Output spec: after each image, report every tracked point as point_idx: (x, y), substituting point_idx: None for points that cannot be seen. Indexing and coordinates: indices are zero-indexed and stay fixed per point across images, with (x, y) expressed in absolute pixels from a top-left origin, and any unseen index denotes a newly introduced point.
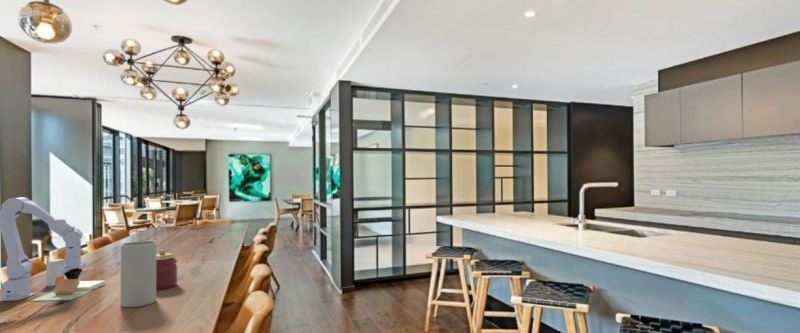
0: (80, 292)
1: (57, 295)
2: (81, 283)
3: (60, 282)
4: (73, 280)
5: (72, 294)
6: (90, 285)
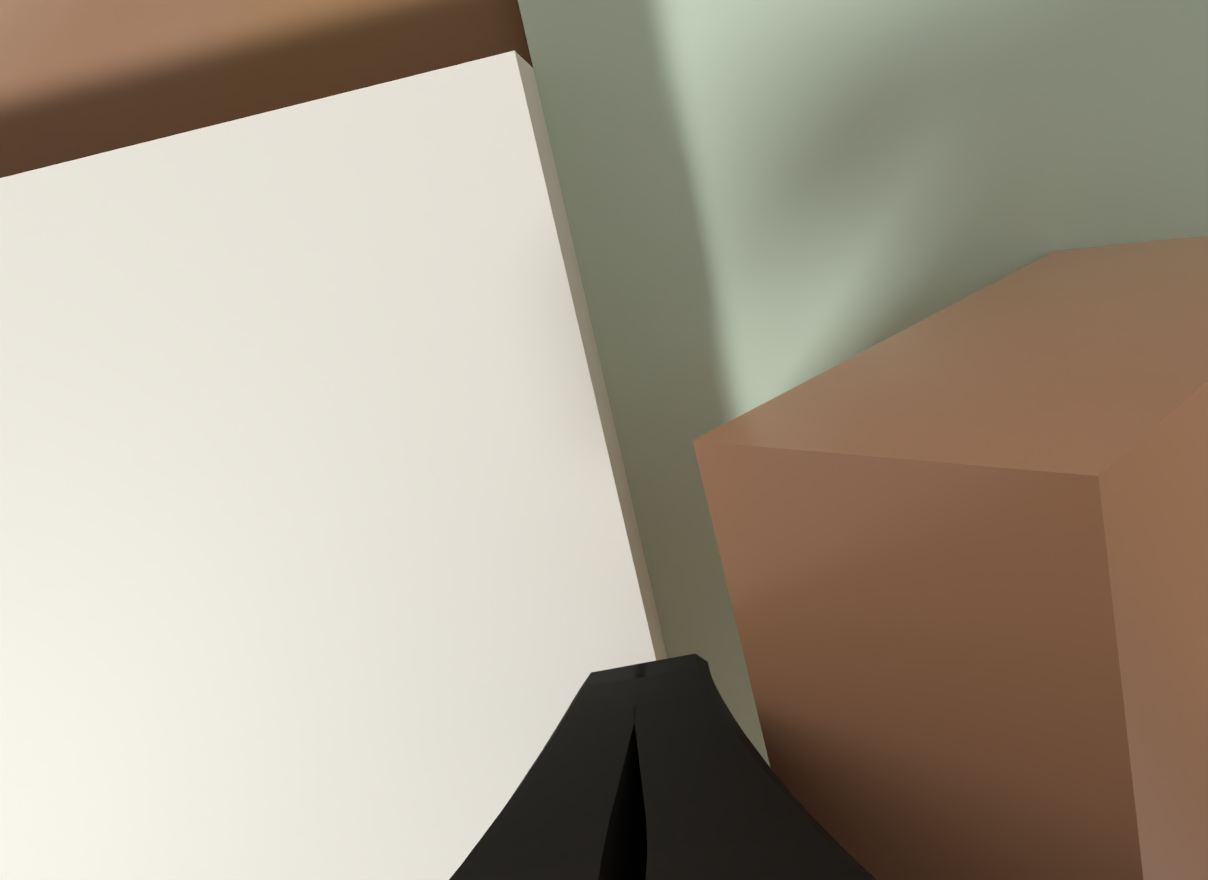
0: (804, 181)
1: None
2: (102, 866)
3: None
4: (1174, 591)
5: (1086, 247)
6: (251, 249)
